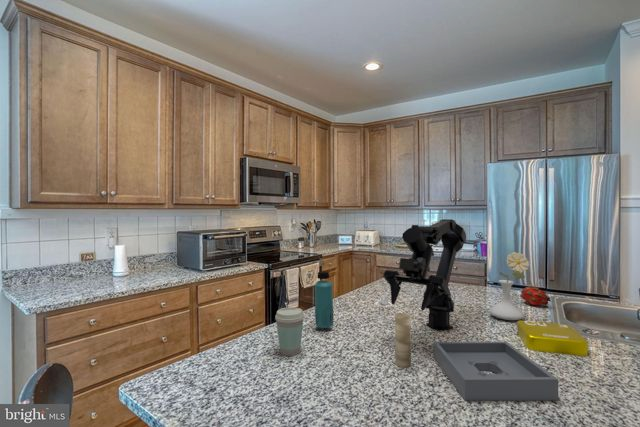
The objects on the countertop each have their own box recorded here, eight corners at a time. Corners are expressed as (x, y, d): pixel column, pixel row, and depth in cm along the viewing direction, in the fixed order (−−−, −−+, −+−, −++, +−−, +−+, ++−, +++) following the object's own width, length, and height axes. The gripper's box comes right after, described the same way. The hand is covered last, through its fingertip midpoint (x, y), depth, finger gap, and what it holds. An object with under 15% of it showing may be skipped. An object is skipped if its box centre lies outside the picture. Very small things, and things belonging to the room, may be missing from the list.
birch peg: (404, 359, 90) (404, 312, 89) (414, 365, 86) (413, 316, 86) (392, 361, 88) (392, 314, 88) (401, 368, 84) (400, 318, 84)
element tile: (527, 350, 94) (527, 334, 94) (515, 332, 109) (515, 318, 109) (590, 358, 89) (590, 341, 89) (569, 337, 104) (569, 322, 103)
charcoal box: (433, 358, 90) (433, 341, 90) (506, 357, 90) (506, 341, 90) (464, 400, 70) (464, 379, 70) (558, 400, 70) (558, 379, 70)
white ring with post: (380, 301, 148) (380, 292, 148) (396, 303, 143) (396, 294, 143) (371, 305, 141) (371, 296, 141) (388, 309, 136) (388, 299, 136)
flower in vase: (491, 320, 119) (490, 253, 119) (487, 311, 129) (487, 249, 129) (532, 325, 114) (532, 254, 114) (525, 315, 125) (525, 250, 124)
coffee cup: (308, 347, 98) (308, 308, 98) (297, 360, 90) (297, 316, 90) (283, 344, 101) (282, 305, 101) (270, 355, 93) (269, 314, 93)
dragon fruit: (521, 304, 144) (548, 316, 133) (511, 295, 141) (539, 306, 130) (530, 288, 145) (559, 299, 134) (521, 279, 141) (550, 289, 131)
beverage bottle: (332, 332, 109) (331, 273, 109) (312, 331, 111) (312, 273, 110) (335, 326, 116) (334, 270, 115) (316, 325, 117) (316, 269, 117)
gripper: (383, 244, 103) (367, 289, 96) (442, 248, 91) (429, 300, 83) (396, 262, 109) (382, 305, 102) (453, 268, 97) (442, 317, 90)
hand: (406, 306), depth 94 cm, fingers open, 9 cm apart
